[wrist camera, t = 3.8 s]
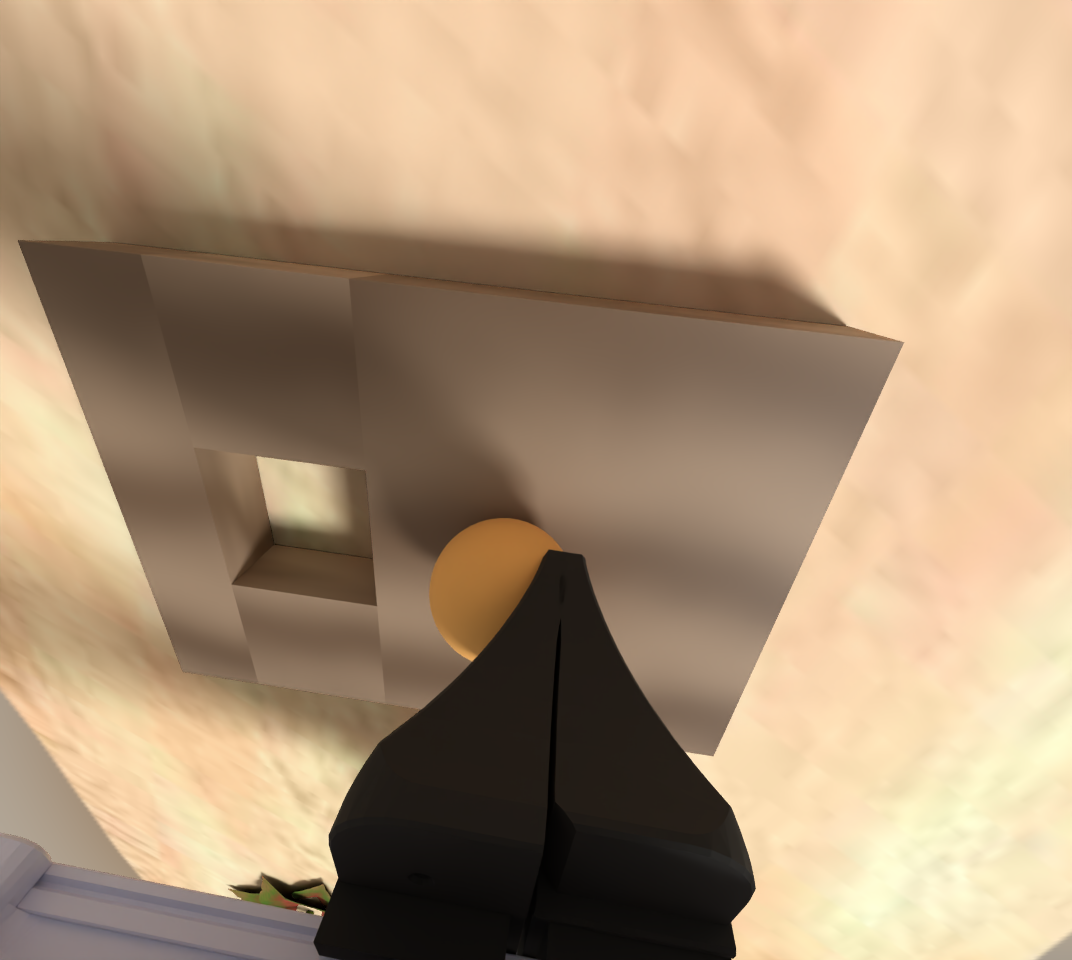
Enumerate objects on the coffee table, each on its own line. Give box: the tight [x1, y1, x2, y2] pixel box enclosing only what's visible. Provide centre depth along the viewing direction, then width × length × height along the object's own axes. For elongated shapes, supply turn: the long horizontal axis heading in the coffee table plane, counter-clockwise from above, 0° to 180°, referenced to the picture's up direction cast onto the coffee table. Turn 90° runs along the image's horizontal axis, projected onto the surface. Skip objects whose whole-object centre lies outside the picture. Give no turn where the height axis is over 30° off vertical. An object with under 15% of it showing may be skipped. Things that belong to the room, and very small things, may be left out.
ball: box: [429, 518, 563, 661], centre depth 13 cm, size 4×4×4 cm
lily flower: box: [229, 876, 331, 916], centre depth 33 cm, size 12×12×5 cm
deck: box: [18, 240, 904, 756], centre depth 16 cm, size 16×22×2 cm
